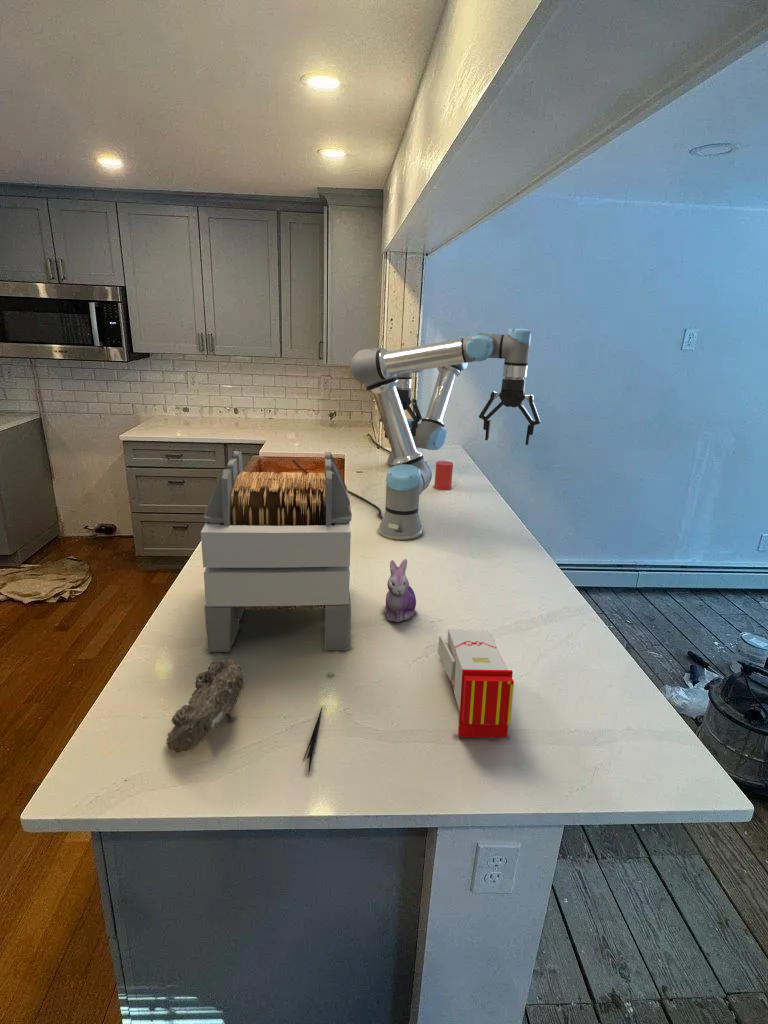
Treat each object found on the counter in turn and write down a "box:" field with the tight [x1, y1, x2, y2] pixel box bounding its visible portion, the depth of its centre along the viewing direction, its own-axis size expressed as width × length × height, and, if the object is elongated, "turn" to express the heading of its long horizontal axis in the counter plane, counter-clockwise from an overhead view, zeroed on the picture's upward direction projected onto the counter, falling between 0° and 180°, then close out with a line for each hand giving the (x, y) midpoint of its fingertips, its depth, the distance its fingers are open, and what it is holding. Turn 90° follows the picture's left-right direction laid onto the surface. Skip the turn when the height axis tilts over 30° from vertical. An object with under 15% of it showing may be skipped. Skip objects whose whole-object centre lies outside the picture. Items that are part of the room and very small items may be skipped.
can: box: [433, 460, 454, 491], centre depth 253 cm, size 8×8×11 cm
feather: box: [301, 673, 332, 771], centre depth 108 cm, size 2×28×2 cm
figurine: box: [384, 558, 417, 623], centre depth 145 cm, size 9×10×15 cm
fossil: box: [166, 658, 245, 754], centre depth 106 cm, size 22×10×15 cm
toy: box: [437, 628, 515, 738], centre depth 117 cm, size 12×13×30 cm
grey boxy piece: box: [200, 450, 353, 653], centre depth 138 cm, size 34×33×41 cm
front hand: (506, 441), depth 193 cm, fingers open, 13 cm apart
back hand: (400, 436), depth 252 cm, fingers open, 13 cm apart
